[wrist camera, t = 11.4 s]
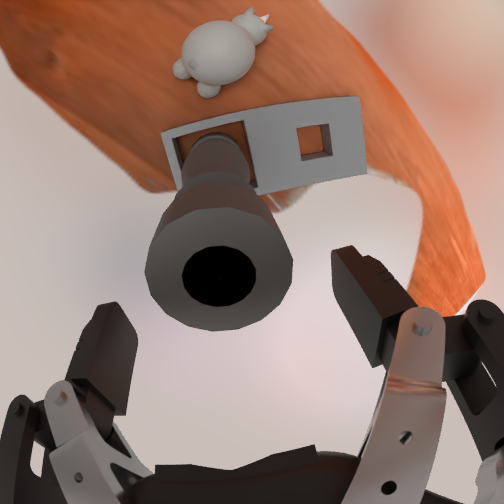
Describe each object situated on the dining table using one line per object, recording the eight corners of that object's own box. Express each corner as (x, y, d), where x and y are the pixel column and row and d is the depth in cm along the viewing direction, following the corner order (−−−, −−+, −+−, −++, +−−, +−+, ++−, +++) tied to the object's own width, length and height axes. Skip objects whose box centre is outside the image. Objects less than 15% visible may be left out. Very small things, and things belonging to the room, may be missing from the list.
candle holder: (244, 135, 31) (318, 211, 10) (236, 184, 34) (279, 337, 12) (193, 129, 30) (136, 191, 8) (187, 178, 33) (143, 329, 11)
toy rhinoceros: (270, 54, 28) (308, 26, 21) (205, 110, 27) (232, 85, 20) (231, 18, 25) (260, -17, 17) (160, 70, 24) (171, 33, 16)
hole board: (165, 130, 29) (160, 132, 27) (348, 96, 30) (359, 96, 27) (187, 205, 34) (185, 214, 32) (356, 168, 35) (367, 173, 32)
